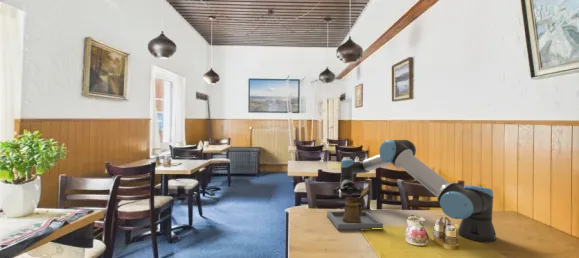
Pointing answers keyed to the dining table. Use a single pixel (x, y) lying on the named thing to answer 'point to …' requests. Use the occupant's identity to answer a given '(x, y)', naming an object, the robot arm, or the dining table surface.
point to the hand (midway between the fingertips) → (353, 195)
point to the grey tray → (366, 223)
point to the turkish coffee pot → (354, 208)
